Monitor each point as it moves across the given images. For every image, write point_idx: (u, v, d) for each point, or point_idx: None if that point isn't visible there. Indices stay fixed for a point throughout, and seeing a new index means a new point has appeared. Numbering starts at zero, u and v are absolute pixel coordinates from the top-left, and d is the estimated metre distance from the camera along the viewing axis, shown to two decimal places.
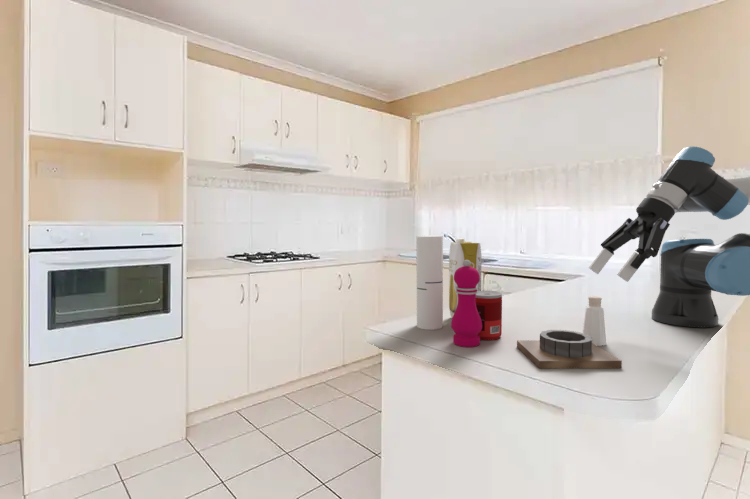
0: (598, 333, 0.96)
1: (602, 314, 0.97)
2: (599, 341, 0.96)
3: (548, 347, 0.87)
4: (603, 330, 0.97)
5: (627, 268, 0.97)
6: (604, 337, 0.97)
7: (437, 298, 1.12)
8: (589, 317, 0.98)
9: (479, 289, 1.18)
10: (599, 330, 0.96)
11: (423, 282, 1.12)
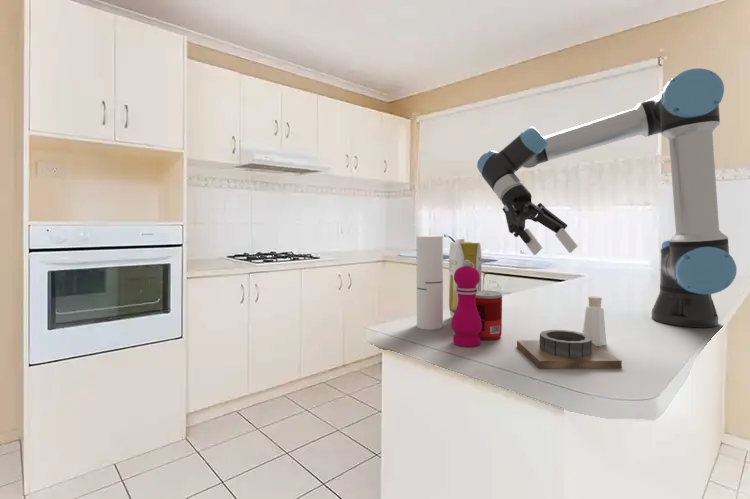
0: (598, 333, 0.96)
1: (602, 314, 0.97)
2: (599, 341, 0.96)
3: (548, 347, 0.87)
4: (603, 330, 0.97)
5: (530, 245, 1.05)
6: (604, 337, 0.97)
7: (437, 298, 1.12)
8: (589, 317, 0.98)
9: (479, 289, 1.18)
10: (599, 330, 0.96)
11: (423, 282, 1.12)
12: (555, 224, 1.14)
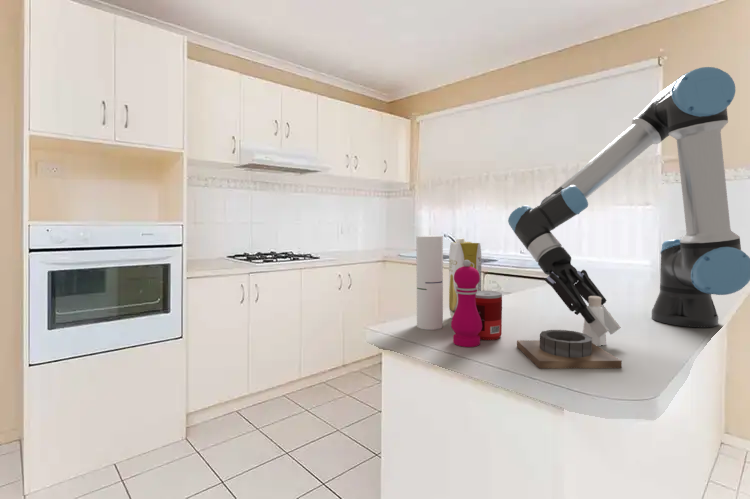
0: None
1: (602, 314, 0.97)
2: (599, 341, 0.96)
3: (548, 347, 0.87)
4: None
5: (593, 326, 0.96)
6: (604, 337, 0.97)
7: (437, 298, 1.12)
8: None
9: (479, 289, 1.18)
10: None
11: (423, 282, 1.12)
12: None
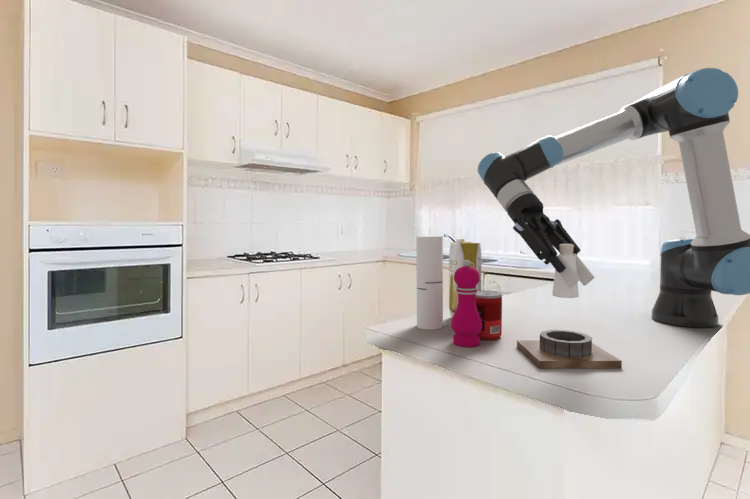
0: None
1: (574, 263, 0.87)
2: (570, 292, 0.86)
3: (548, 347, 0.87)
4: None
5: (564, 276, 0.86)
6: (576, 288, 0.87)
7: (437, 298, 1.12)
8: None
9: (479, 289, 1.18)
10: None
11: (423, 282, 1.12)
12: None
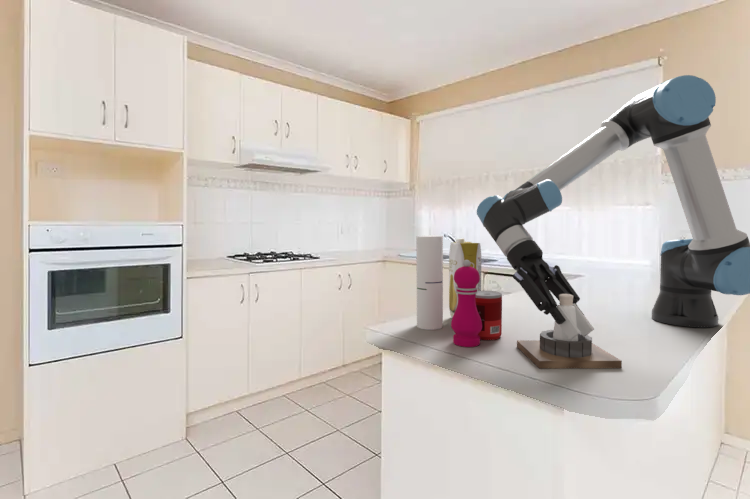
0: None
1: (574, 314, 0.87)
2: None
3: (548, 347, 0.87)
4: None
5: (564, 327, 0.86)
6: (576, 339, 0.87)
7: (437, 298, 1.12)
8: None
9: (479, 289, 1.18)
10: None
11: (423, 282, 1.12)
12: None
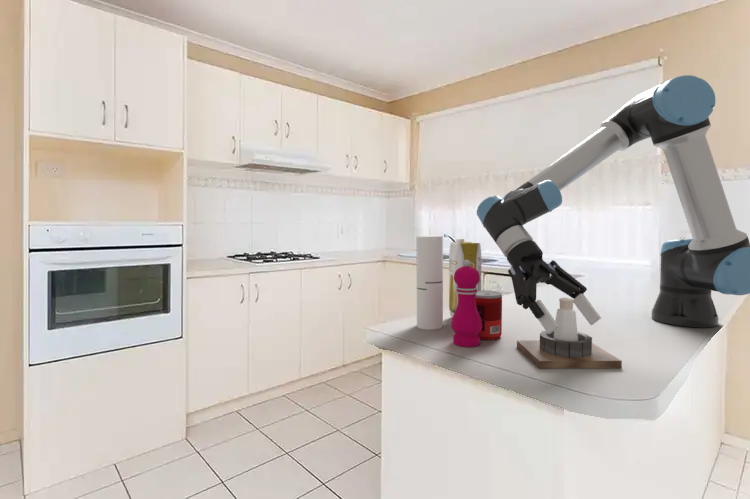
0: (569, 339, 0.87)
1: (574, 318, 0.87)
2: None
3: (548, 347, 0.87)
4: (575, 336, 0.87)
5: (543, 322, 0.85)
6: None
7: (437, 298, 1.12)
8: (560, 321, 0.88)
9: (479, 289, 1.18)
10: (571, 336, 0.87)
11: (423, 282, 1.12)
12: (572, 288, 0.94)
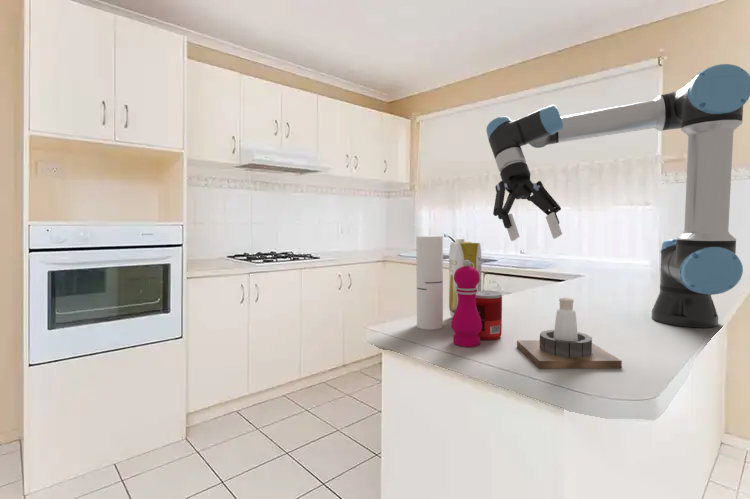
0: (569, 339, 0.87)
1: (574, 318, 0.87)
2: None
3: (548, 347, 0.87)
4: (575, 336, 0.87)
5: (509, 231, 1.08)
6: None
7: (437, 298, 1.12)
8: (560, 321, 0.88)
9: (479, 289, 1.18)
10: (571, 336, 0.87)
11: (423, 282, 1.12)
12: (547, 207, 1.13)
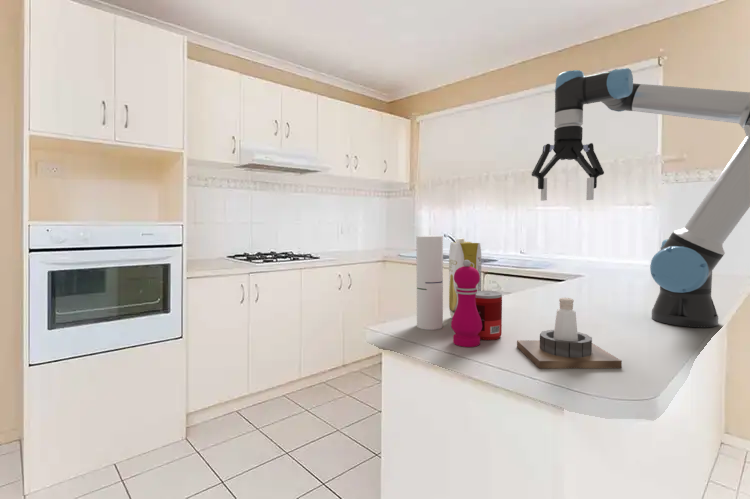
0: (569, 339, 0.87)
1: (574, 318, 0.87)
2: None
3: (548, 347, 0.87)
4: (575, 336, 0.87)
5: (541, 192, 1.25)
6: None
7: (437, 298, 1.12)
8: (560, 321, 0.88)
9: (479, 289, 1.18)
10: (571, 336, 0.87)
11: (423, 282, 1.12)
12: (589, 171, 1.23)
